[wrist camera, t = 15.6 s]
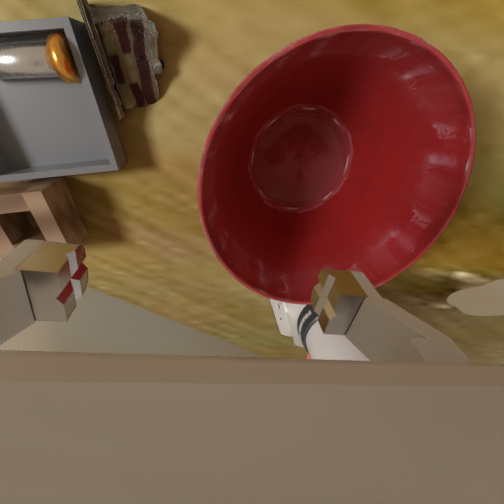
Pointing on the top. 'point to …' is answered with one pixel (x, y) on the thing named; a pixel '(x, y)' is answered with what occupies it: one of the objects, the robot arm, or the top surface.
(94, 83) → the tray
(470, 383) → the robot arm
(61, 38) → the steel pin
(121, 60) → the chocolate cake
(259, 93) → the mixing bowl
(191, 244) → the top surface
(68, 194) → the hitch block
